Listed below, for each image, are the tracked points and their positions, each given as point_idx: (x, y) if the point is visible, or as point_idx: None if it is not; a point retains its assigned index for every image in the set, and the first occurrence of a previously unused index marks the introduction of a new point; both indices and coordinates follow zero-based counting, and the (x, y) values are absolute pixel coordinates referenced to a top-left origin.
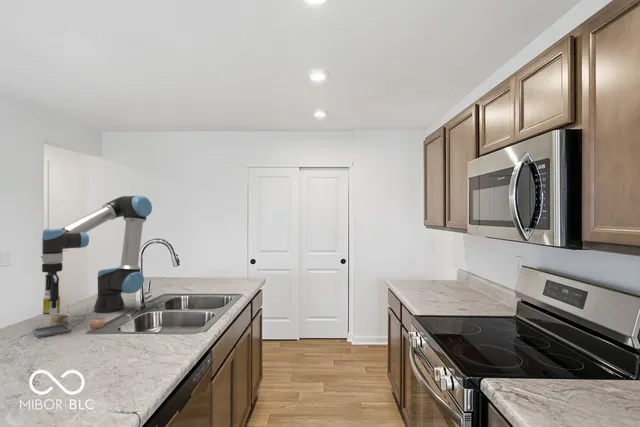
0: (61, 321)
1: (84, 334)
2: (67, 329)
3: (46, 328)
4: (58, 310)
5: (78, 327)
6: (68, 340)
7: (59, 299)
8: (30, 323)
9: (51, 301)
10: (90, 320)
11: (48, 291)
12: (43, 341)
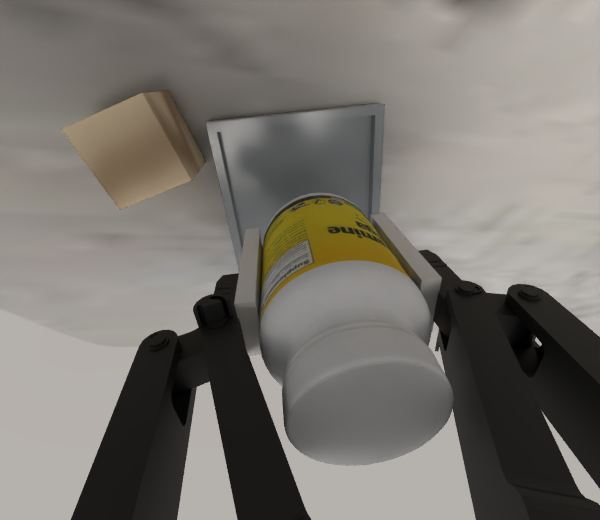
0: (183, 140)
1: (495, 31)
2: (379, 123)
3: (235, 216)
4: (361, 212)
5: (284, 33)
6: (526, 136)
7: (380, 253)
8: (20, 272)
9: (432, 319)
10: None
11: (424, 441)
12: (438, 232)
